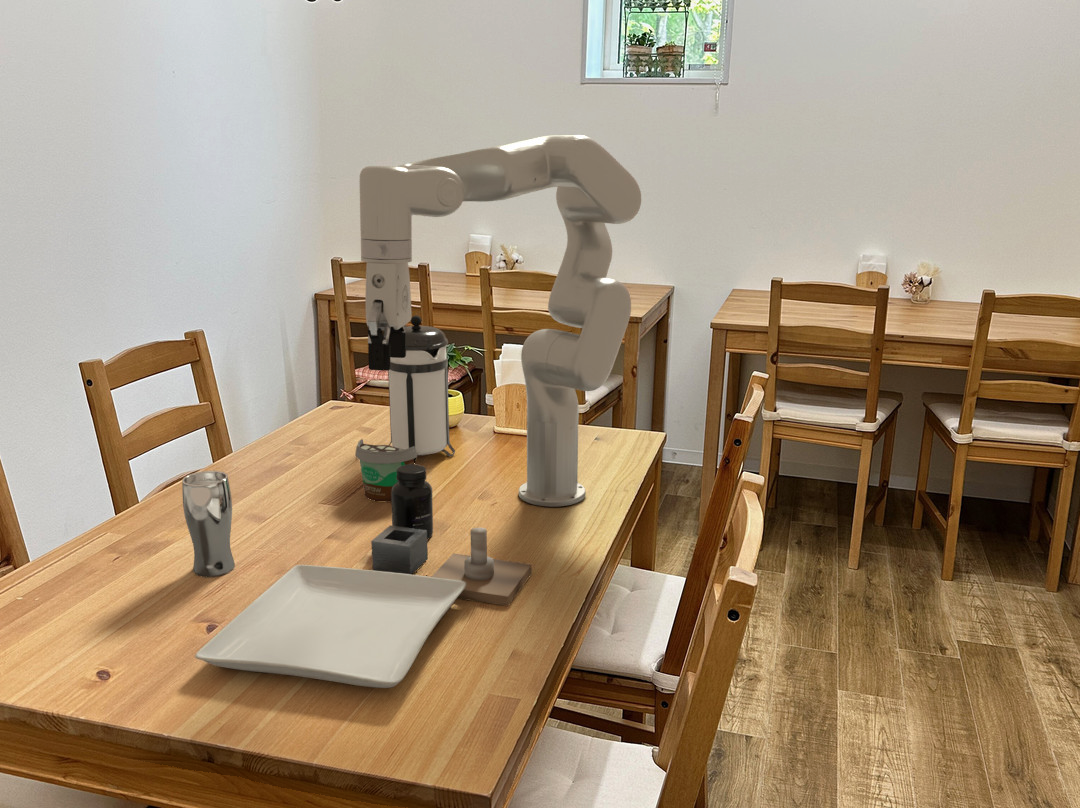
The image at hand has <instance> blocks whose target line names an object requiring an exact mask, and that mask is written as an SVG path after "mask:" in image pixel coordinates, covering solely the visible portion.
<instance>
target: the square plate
mask: <svg viewBox="0 0 1080 808" xmlns="http://www.w3.org/2000/svg"><path fill="white" fill-rule="evenodd" d="M465 586H466V582H465V581H462V580H453V579H444V578H435V577H431V576H427V575H419V574H413V575H411V574H403V573H392V572H382V571H373V569H371V570H370V569H361V568H351V567H350V568H349V567H348V568H347V567H337V566H325V565H313V564H311V565H310V564H296V565H294V566H293V567H292V568H291V569H289V570H288V571H287V572H286V573H285V574H283V575H282V576H281V577H280V578H279V579H278V580H276V582H274V583H273V584H271V585H270V586H269V587H268V588H267V589H266V590H265V591H264V592H262V593H261V594H260V595H259V596H258V597H256V599H254V600H253V601H252V602H251V603H250V604H249V605H248V606H247V607H245V608H244V609H243V610H242V611H241V612H240V613H239V614H238V615H236V616H235V617H234V618H233V619H232V620H230V622H229V623H227V624H226V625H225V626H224V627H222V629H221V630H220V631H219V632H217V633H216V634H215V635H214V636H213V637H212V638H210V640H209V641H207V642H206V643H205V644H204V645H203V646H202V647H201V648H199V650H198V651H197V652H196V653H195V655H194V657H195V659H197V660H200V661H202V662H205V663H207V664H210V665H213V666H216V667H221V668H226V669H233V670H237V671H238V670H240V671H248V672H254V673H255V672H257V673H259V672H260V673H266V674H277V675H284V676H285V675H286V676H294V677H302V678H309V679H316V680H322V681H328V682H329V681H330V682H336V683H339V684H340V683H341V684H345V685H346V684H348V685H353V686H361V687H368V688H378V689H379V688H380V689H391V688H394V687H395V686H397V685H398V684H399V683H401V682H402V680H403V679H404V678H405V677H406V676H407V674H408V672H409V671H410V669H411V667H412V665H413V664H414V662H415V660H416V658H417V657H418V655H419V652H420V651H421V650H422V647H423V645H424V644H425V643H426V641H427V639H428V637H429V636H430V635H431V633H432V631H433V630H434V629H435V627H436V626H437V624H438V623H439V622H440V620H441V619H442V618H443V617H444V615H445V614H447V612H448V611H449V609H450V608H451V607H452V605H454V603H455V601H456V600H457V599H458V598H457V597H458V596H459V595H460V594H461V592H462V591H463V589H464V588H465Z"/></svg>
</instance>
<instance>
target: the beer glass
mask: <svg viewBox="0 0 1080 808" xmlns="http://www.w3.org/2000/svg"><path fill="white" fill-rule="evenodd" d="M181 482H182V488H181V489H182V492H181V493H182V507H183V514H184V518H185V523H186V526H187V528H188V532H189V535H190V538H191V543H192V546H193V552H194V553H193V554H194V555H193V556H194V557H193V570H192V571H193V573H194V574H195V575H196V576H198V577H201V576H202V578H215V577H221V576H223V575H226V574H228V573H230V572H232V571H233V570H234V569H235V565H236V564H235V560H234V557H233V553H232V549H231V531H232V519H233V499H232V492H231V486H230V481H229V475H228V473H227V472H225V471H222V470H221V471H220V470H202V471H198V472H197V471H196V472H194V473H189V474H188V475H186V476H184V477H183V478H182V480H181Z"/></svg>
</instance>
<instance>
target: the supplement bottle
mask: <svg viewBox="0 0 1080 808" xmlns="http://www.w3.org/2000/svg"><path fill="white" fill-rule="evenodd" d="M396 479H397V481H398V482H397V483H395V484H394V485H393V487H392V489H391V502H390V503H391V525H392V526H399V527H406V528H414V529H421V530H427V540H429V539H430V538H431V537H432V536H433V533H434V522H433V521H434V517H433V511H434V509H433V506H434V505H433V488H432V485H431V484H430V482H428V481H426V480H427V469H426V467H425V466H424V465H421V464H417V463H415V464H409V465H403V466H400V467H398V468H397V476H396Z"/></svg>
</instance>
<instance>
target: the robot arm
mask: <svg viewBox="0 0 1080 808" xmlns="http://www.w3.org/2000/svg"><path fill="white" fill-rule="evenodd" d="M551 188H556V192H555V198H556V205H557V207H558V211H559V213H560V215H561V217H562V219H563V222H564V225H565V230H566V235H567V242H566V248H565V252H564V255H563V258H562V260H561V264H560V267H559V269H558V272H557V274H556V277H555V280H554V282H553V286H552V288H551V291H550V294H549V297H548V304H547V309H548V313H549V316H550V317H551V318H552V319H553V320H554V321H556V322H558V323H560V324H562V325H566V326H569V327H573V328H579V329H581V332H580V334H578V333H574V332H570V331H566V330H560V329H555V328H554V329H553V328H542V329H538V330H536V331H534V332H532V333H531V334H529V335H528V336H527V338H526V339H525V340H524V343H523V345H522V347H521V355H520V359H521V367H522V372H523V379H524V382H525V391H526V392H525V394H526V482H524V483H523V484H522V485H520V486H519V488H518V496H519V498H520V499H521V500H522V501H525V502H526V503H527V504H530V505H535V506H540V507H547V508H548V507H550V508H551V507H552V508H554V507H557V508H558V507H565V506H572V505H574V504H577V503H579V502H581V501H583V500H584V499H585V497H586V487H584V486H583V484H581V483H579V482H578V475H579V474H578V467H579V465H578V463H579V413H580V411H579V410H580V409H579V406H580V405H579V401H578V400H579V399H578V396H577V392H576V391H577V390H578V391H583V392H594V391H596V390H598V389H599V388H601V387H602V386H603V385H604V384H605V382H606V381H607V379H608V378H609V377H610V374H611V372H612V370H613V367H614V366H615V365H614V364H615V361H616V359H617V357H618V354H619V350H620V347H621V344H622V342H623V339H624V336H625V334H626V330H627V328H628V325H629V321H630V318H631V312H632V300H631V298H632V297H631V294H630V292H629V290H628V288H627V287H626V286H625V284H624V283H622V282H621V281H619V280H617V279H614V278H610V277H607V276H608V272H609V270H610V265H611V263H612V258H613V244H612V240H611V236H610V234H609V231H608V228H607V226H606V224H611V225H621V224H625V223H628V222H631V220H633V219H634V218H635V217H636V216H637V214H638V213H639V211H640V208H641V205H642V193H641V192H642V191H641V188H640V185H639V183H638V181H637V180H636V179H635V178H634V176H633V175H632V174H631V173H630V172H629V171H628V170H627V168H625V167H624V166H623V165H622V164H621V163H620V162H619V161H618V159H616V158H615V157H614V156H613V155H612V154H611V153H610V152H609V151H607V150H606V148H605V147H603V146H602V145H601V144H600V143H598V142H597V141H596V140H594V139H592V138H591V137H589V136H587V135H582V134H573V135H572V134H571V135H570V134H569V135H568V134H562V135H561V134H559V135H558V134H556V135H555V134H553V135H543V136H538V137H533V138H529V139H523V140H520V141H515V142H511V143H507V144H502V145H501V144H500V145H497V146H496V145H495V146H491V147H486V148H480V149H474V150H471V151H467V152H466V151H464V152H460V153H456V154H450V155H445V156H438V157H432V158H427V159H422V160H418V161H414V162H409V163H404V164H401V165H400V164H399V165H398V166H393V165H392V166H391V165H388V166H387V165H370V166H365V167H364V168H362V169H361V171H360V173H359V219H360V220H359V221H360V224H359V225H360V261H361V262H363V263H366V269H365V273H366V274H365V320H366V321H365V322H366V325H367V327H368V329H367V334H368V337H367V344H368V345H367V347H368V350H367V353H368V355H367V356H368V370H370V371H383V372H384V371H387V372H388V370H390V368H391V362H390V357H394V358H404V357H406V333H402V332H405V331H406V325H407V324H408V323H409V322H411V321H410V320H411V318H412V317H413V316H412V295H411V293H412V292H411V278H410V268H409V263H412V261H413V255H412V254H413V251H412V246H413V245H412V244H413V243H412V240H413V239H412V237H413V236H412V232H413V231H412V229H413V226H412V217H413V216H423V217H429V218H430V217H432V218H441V217H442V218H443V217H447V216H450V215H451V214H453V213H455V212H457V210H459V209H460V207H461V206H462V204H463V203H464V202H477V203H478V202H482V203H483V202H497V201H504V200H508V199H514V198H517V197H520V196H522V195H526V194H529V193H535V192H538V191H543V190H546V189H551Z"/></svg>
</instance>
